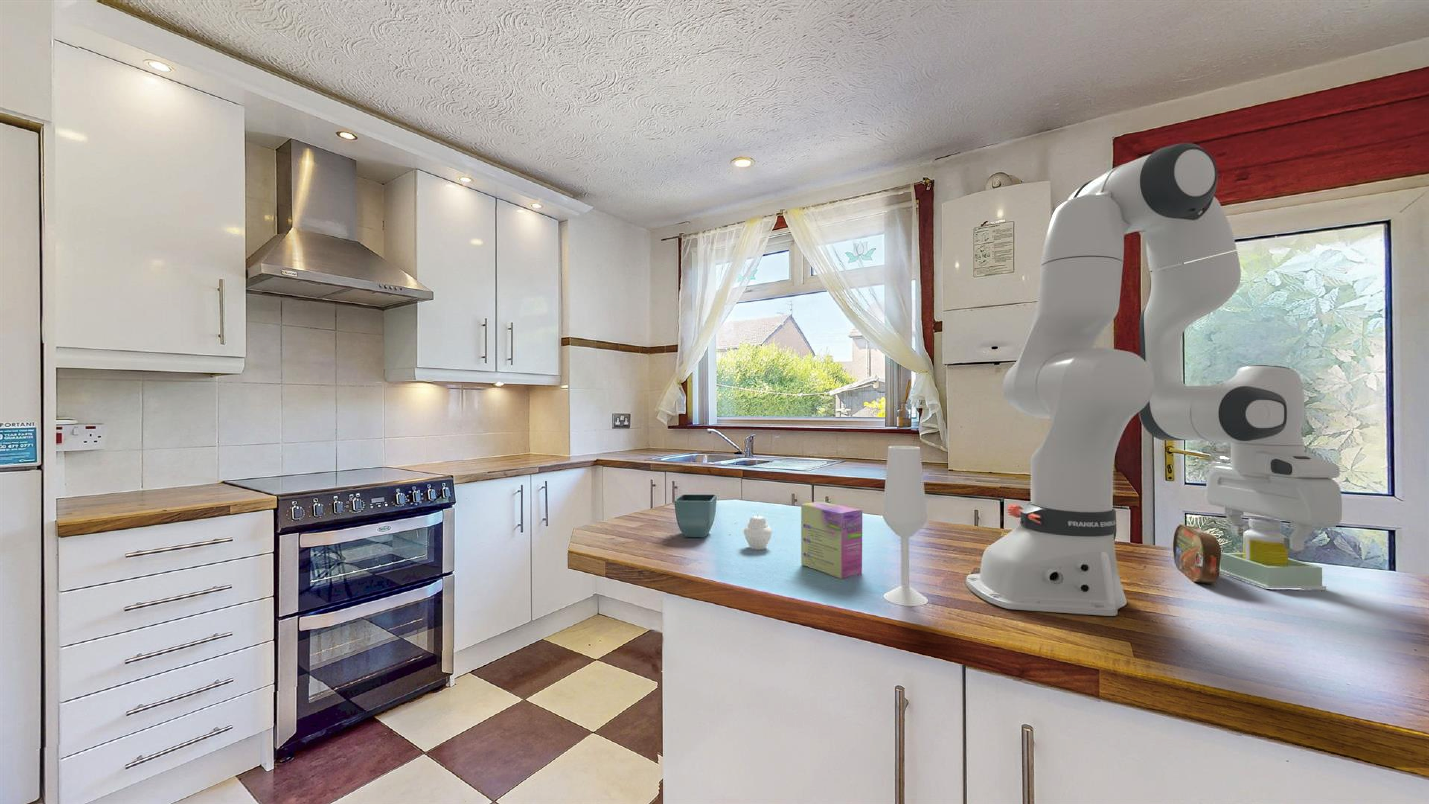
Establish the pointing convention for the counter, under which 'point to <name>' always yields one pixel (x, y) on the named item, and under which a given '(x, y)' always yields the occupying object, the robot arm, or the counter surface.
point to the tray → (1272, 573)
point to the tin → (1197, 554)
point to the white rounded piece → (757, 533)
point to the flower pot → (695, 514)
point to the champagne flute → (904, 512)
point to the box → (831, 538)
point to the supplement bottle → (1265, 542)
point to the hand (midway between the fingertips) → (1265, 542)
